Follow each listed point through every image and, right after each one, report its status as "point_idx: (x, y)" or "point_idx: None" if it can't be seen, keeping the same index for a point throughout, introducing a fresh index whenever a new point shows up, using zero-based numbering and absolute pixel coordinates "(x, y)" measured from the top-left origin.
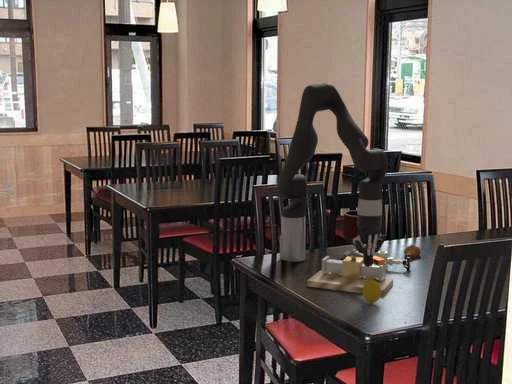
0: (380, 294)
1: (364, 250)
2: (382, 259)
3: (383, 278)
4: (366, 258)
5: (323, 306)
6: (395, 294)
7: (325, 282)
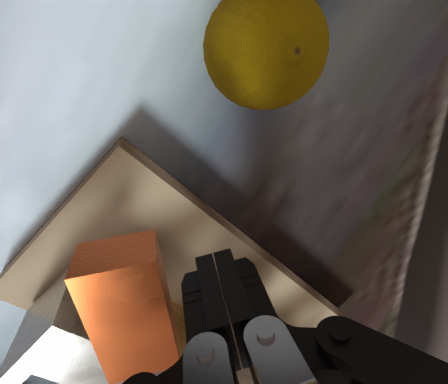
0: (217, 6)
1: (356, 358)
2: (94, 283)
3: (52, 286)
4: (267, 297)
5: (429, 103)
6: (44, 141)
7: (310, 298)
